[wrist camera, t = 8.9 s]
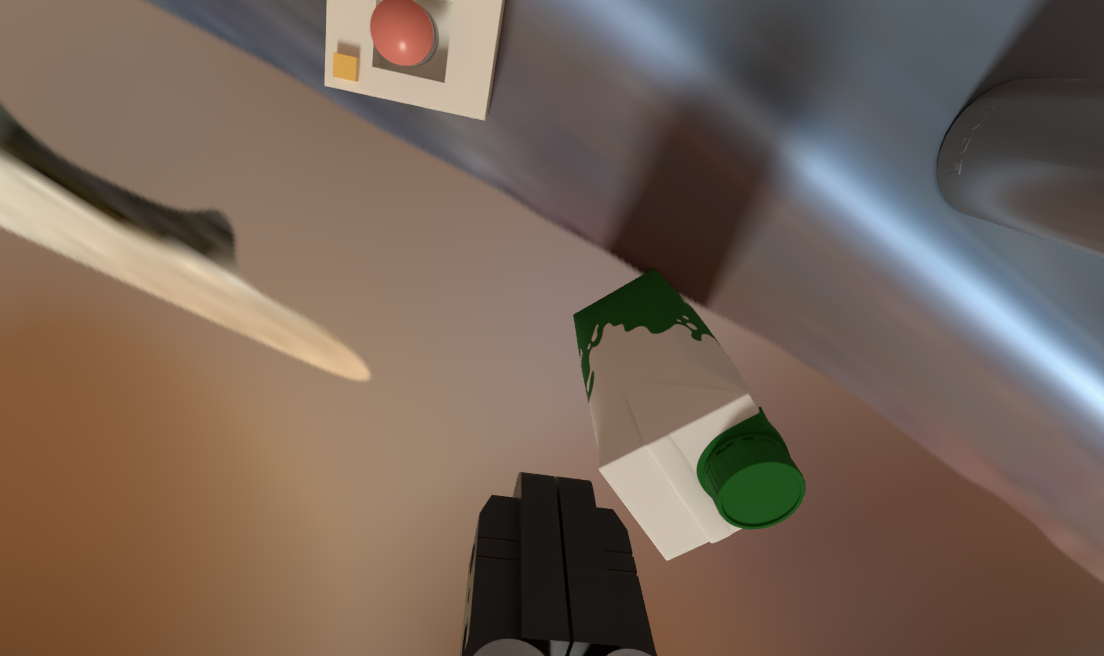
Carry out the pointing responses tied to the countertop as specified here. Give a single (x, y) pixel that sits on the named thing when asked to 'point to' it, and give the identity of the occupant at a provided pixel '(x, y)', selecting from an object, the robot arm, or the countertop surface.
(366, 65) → the button panel
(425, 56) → the button
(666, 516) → the milk carton
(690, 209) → the countertop surface
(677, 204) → the countertop surface
